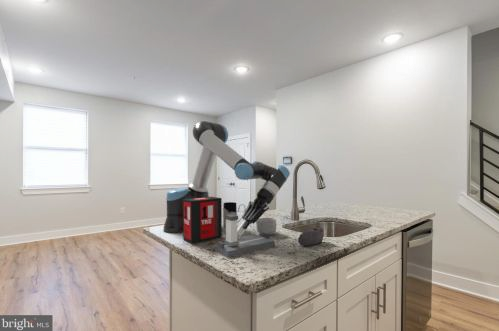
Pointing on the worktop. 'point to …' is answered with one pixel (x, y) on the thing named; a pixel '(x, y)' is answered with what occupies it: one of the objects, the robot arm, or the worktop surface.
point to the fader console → (245, 245)
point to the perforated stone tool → (311, 237)
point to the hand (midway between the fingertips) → (237, 234)
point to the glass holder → (229, 211)
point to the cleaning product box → (202, 219)
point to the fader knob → (231, 230)
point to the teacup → (266, 225)
